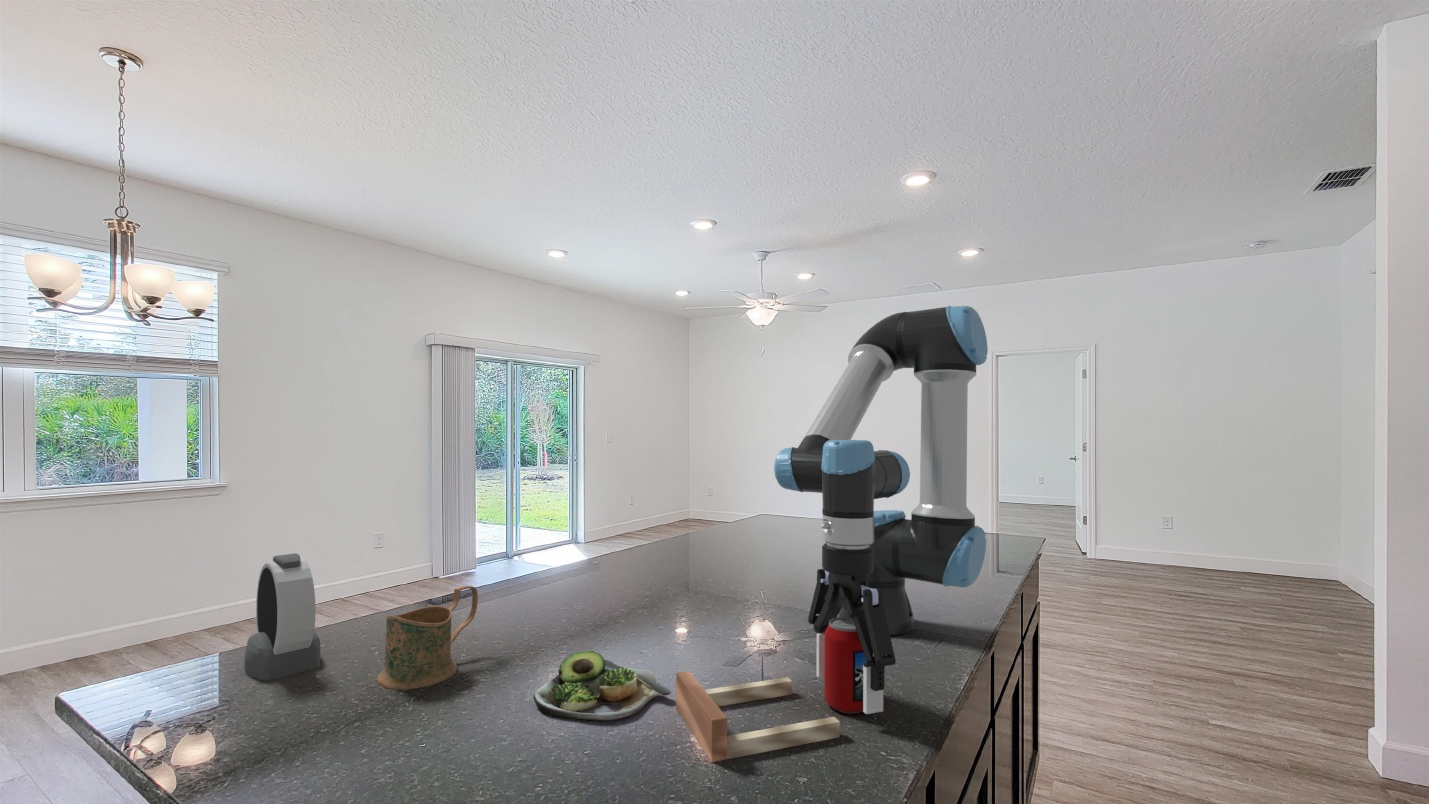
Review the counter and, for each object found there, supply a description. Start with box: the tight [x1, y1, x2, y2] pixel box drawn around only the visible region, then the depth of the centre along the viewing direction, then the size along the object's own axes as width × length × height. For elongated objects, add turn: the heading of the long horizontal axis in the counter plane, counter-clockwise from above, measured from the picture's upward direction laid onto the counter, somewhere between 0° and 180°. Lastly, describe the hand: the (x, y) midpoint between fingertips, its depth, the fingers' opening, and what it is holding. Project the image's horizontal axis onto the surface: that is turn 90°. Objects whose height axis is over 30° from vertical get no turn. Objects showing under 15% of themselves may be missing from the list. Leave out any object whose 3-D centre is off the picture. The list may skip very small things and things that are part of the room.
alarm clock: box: [243, 552, 321, 681], centre depth 103 cm, size 16×10×18 cm, turn 47°
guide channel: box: [675, 670, 841, 763], centre depth 84 cm, size 18×15×5 cm
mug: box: [377, 585, 479, 690], centre depth 102 cm, size 12×18×12 cm, turn 155°
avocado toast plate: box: [533, 650, 672, 721], centre depth 92 cm, size 19×18×5 cm
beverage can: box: [823, 616, 867, 714], centre depth 90 cm, size 7×7×12 cm
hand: (847, 692), depth 89 cm, fingers open, 12 cm apart
